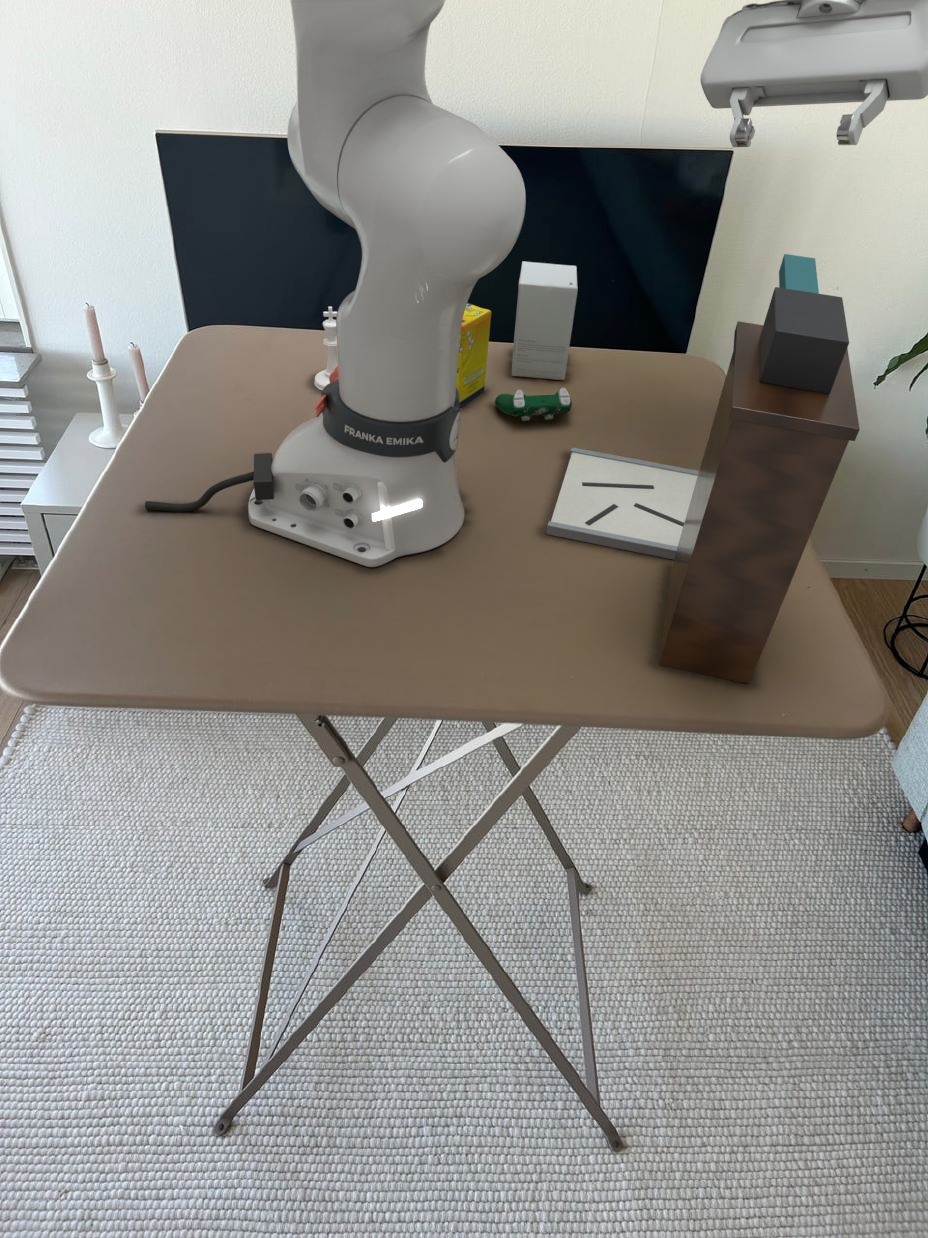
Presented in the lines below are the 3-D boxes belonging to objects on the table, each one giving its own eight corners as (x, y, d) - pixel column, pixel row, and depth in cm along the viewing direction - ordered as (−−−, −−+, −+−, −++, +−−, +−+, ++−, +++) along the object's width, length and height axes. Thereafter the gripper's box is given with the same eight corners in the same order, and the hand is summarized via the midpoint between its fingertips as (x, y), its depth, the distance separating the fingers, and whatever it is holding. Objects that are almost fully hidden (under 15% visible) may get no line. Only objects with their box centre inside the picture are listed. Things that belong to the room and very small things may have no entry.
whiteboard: (545, 534, 92) (547, 525, 91) (570, 455, 103) (571, 446, 103) (723, 569, 89) (726, 560, 89) (728, 485, 101) (731, 476, 100)
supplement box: (420, 393, 112) (422, 310, 104) (447, 376, 116) (451, 294, 108) (458, 409, 110) (463, 325, 102) (485, 391, 113) (492, 308, 106)
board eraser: (759, 382, 64) (775, 330, 61) (760, 283, 78) (774, 236, 75) (829, 394, 63) (849, 342, 60) (818, 292, 77) (834, 245, 74)
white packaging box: (565, 356, 122) (579, 264, 113) (564, 382, 116) (578, 287, 108) (512, 350, 122) (521, 259, 113) (509, 376, 117) (518, 282, 108)
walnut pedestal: (655, 666, 79) (732, 406, 61) (668, 566, 89) (737, 320, 72) (752, 687, 78) (860, 428, 60) (754, 584, 88) (846, 338, 70)
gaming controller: (495, 427, 110) (506, 414, 105) (492, 396, 111) (503, 383, 105) (566, 423, 112) (580, 411, 106) (563, 393, 112) (577, 379, 106)
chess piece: (314, 373, 114) (309, 298, 107) (352, 373, 115) (350, 298, 108) (314, 392, 111) (309, 316, 104) (353, 392, 111) (351, 316, 104)
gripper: (720, -20, 80) (670, 121, 80) (968, -52, 69) (910, 112, 69) (737, 32, 86) (690, 165, 85) (970, 11, 74) (916, 163, 74)
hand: (790, 142), depth 77 cm, fingers open, 8 cm apart
